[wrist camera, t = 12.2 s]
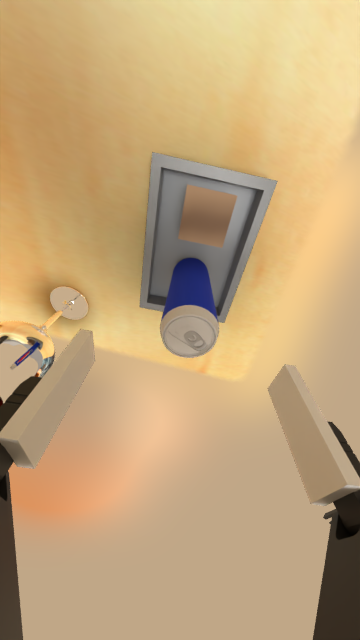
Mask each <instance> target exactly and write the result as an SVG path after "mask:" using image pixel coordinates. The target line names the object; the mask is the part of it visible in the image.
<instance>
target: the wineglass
mask: <svg viewBox="0 0 360 640" xmlns="http://www.w3.org/2000/svg"><path fill="white" fill-rule="evenodd" d="M50 302H51V304H52V306H53V308H54V309H55V310H56V311H57V312H56V313H55V314H54V315H53V316H52V317H51V318H49V319H48V320H47V321H46V322H45V323H44V324H43V325H40V326H37V325H34V324H31V323H28V322H23V321H3V322H0V406H1V405H2V404H3V403H5V401H6V400H7V398H8V397H9V396H10V395H12V393H13V392H14V390H15V389H16V388H17V387H18V386H19V385H20V383H22V382H23V381H25V380H26V379H28V378H29V377H31V376H35V377H43V376H44V375H45V374H46V373H47V371H48V370H49V369H50V368H51V366H52V365H53V362H54V358H55V350H54V345H53V342H52V340H51V338H50V336H49V335H48V334H47V328H48V327H49V326H50V325H51V324H52V323H54V322H55V321H56V320H57V319H58V318H59V317H60V316H61V315H62V316H63V317H66V318H68V319H73V320H78V319H81V318H83V317H85V316H86V315H87V313H88V309H89V307H88V303H87V300H86V299H85V297H84V296H83V295H82V294H81V293H80V292H79V291H77V290H75V289H73V288H71V287H67V286H60V287H57V288H55V289H54V290H53V291H52V292H51V294H50Z"/></svg>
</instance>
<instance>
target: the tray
mask: <svg viewBox="0 0 360 640" xmlns="http://www.w3.org/2000/svg"><path fill="white" fill-rule="evenodd" d="M187 184H188V185H192V186H197V187H201V188H206V189H210V190H215V191H219V192H223V193H228V194H232V195H237V200H236V203H235V206H234V210H233V213H232V217H231V220H230V223H229V227H228V230H227V234H226V237H225V240H224V244H223V247H222V248H220V247H215V246H211V245H206V244H201V243H196V242H191V241H186V240H182V239H178V236H179V230H180V224H181V219H182V213H183V207H184V201H185V195H186V189H187ZM276 184H277V181H275V180H271V179H267V178H262V177H258V176H254V175H249V174H245V173H241V172H236V171H232V170H228V169H223V168H219V167H215V166H211V165H206V164H202V163H198V162H193V161H189V160H185V159H180V158H176V157H172V156H167V155H163V154H159V153H154V152H152V161H151V173H150V185H149V198H148V210H147V222H146V234H145V246H144V259H143V271H142V283H141V295H140V307H141V308H147V309H152V310H157V311H163V312H164V308H165V303H166V299H167V295H168V291H169V287H170V283H171V278H172V274H173V270H174V268H175V266H176V265H177V263H178V262H180V261H181V260H183V259H186V258H196V259H199V260H200V261H202V262H203V263H204V264H205V265H206V267H207V269H208V273H209V278H210V283H211V288H212V293H213V298H214V303H215V309H216V314H217V319H218V322H222V323H224V322H225V319H226V317H227V314H228V311H229V309H230V306H231V303H232V301H233V298H234V295H235V293H236V290H237V288H238V285H239V282H240V280H241V277H242V274H243V272H244V269H245V266H246V264H247V261H248V258H249V256H250V253H251V250H252V248H253V245H254V242H255V240H256V237H257V234H258V232H259V229H260V226H261V224H262V221H263V218H264V216H265V213H266V210H267V208H268V205H269V202H270V200H271V197H272V195H273V192H274V189H275V187H276Z"/></svg>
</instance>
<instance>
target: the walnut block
mask: <svg viewBox="0 0 360 640" xmlns="http://www.w3.org/2000/svg"><path fill="white" fill-rule="evenodd" d="M236 200H237V195H232V194H228V193H223V192H219V191H215V190H210V189H206V188H201V187H197V186H192V185H188V184H187V189H186V195H185V201H184V207H183V213H182V219H181V224H180V230H179V236H178V239H182V240H186V241H191V242H196V243H201V244H206V245H211V246H215V247H220V248H222V247H223V244H224V240H225V237H226V234H227V230H228V227H229V223H230V220H231V217H232V213H233V210H234V206H235V203H236Z"/></svg>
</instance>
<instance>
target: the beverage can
mask: <svg viewBox="0 0 360 640" xmlns="http://www.w3.org/2000/svg"><path fill="white" fill-rule="evenodd" d="M160 333H161V337H162V341H163V343H164V345H165V347H166V348H167V349H168V350H169V351H170V352H171V353H173V354H175V355H177V356H180V357H185V358H194V357H199V356H202V355H204V354H206V353H207V352H209V351H210V350H211V349H212V348H213V346H214V345H215V343H216V340H217V337H218V334H219V324H218V319H217V314H216V309H215V303H214V298H213V293H212V288H211V283H210V278H209V273H208V269H207V267H206V265H205V264H204V263H203V262H202V261H200V260H199V259H196V258H186V259H183V260H181V261H180V262H178V263H177V265H176V266H175V268H174V270H173V274H172V278H171V283H170V287H169V291H168V295H167V299H166V303H165V308H164V312H163V316H162V320H161V324H160Z"/></svg>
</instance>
